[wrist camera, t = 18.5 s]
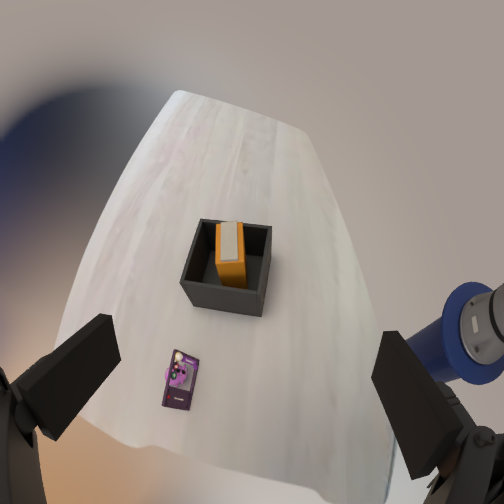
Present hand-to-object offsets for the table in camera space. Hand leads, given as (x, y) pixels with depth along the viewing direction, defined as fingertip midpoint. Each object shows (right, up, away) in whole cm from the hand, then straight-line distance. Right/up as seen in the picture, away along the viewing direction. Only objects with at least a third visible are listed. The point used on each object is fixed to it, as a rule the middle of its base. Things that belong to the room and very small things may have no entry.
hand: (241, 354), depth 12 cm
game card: (-11, -17, +30) cm, 36 cm away
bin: (-3, -1, +39) cm, 39 cm away
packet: (-2, 0, +39) cm, 39 cm away
